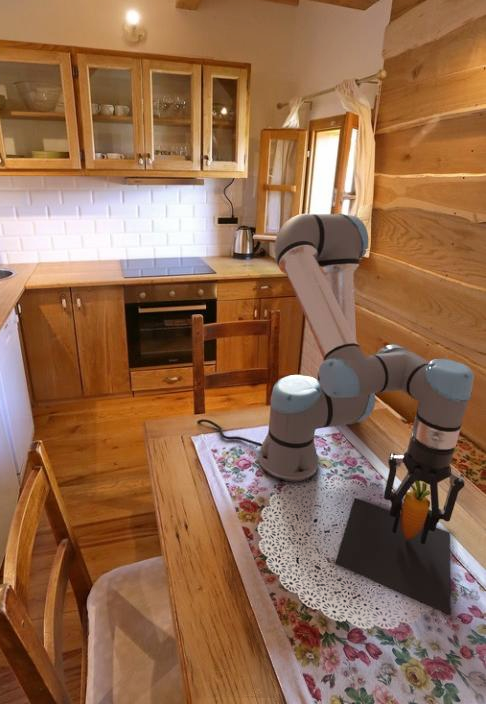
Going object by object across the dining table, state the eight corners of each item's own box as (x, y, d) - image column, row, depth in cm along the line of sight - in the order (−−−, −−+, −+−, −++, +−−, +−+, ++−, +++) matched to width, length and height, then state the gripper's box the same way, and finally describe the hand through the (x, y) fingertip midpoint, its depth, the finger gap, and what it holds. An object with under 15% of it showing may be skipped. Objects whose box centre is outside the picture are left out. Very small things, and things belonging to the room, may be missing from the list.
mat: (335, 563, 79) (335, 563, 79) (354, 497, 96) (354, 497, 96) (450, 615, 71) (450, 614, 71) (449, 532, 88) (449, 532, 88)
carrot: (422, 552, 82) (439, 493, 77) (396, 547, 83) (411, 488, 78) (416, 532, 87) (431, 475, 82) (392, 527, 88) (405, 471, 83)
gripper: (380, 435, 77) (361, 528, 85) (489, 467, 70) (457, 567, 78) (385, 416, 84) (367, 504, 92) (486, 444, 76) (456, 538, 84)
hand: (408, 533), depth 85 cm, fingers closed on carrot, 5 cm apart
